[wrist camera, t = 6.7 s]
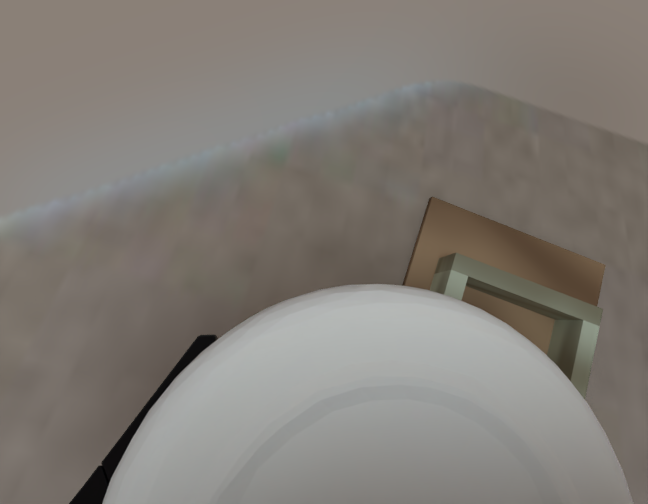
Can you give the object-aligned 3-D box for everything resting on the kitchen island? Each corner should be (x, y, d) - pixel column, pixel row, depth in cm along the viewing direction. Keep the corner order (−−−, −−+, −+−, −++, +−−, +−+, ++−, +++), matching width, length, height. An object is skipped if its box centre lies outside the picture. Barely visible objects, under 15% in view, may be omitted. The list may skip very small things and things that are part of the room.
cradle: (545, 530, 22) (581, 558, 19) (347, 463, 21) (357, 484, 19) (600, 265, 25) (637, 260, 23) (429, 198, 24) (448, 184, 22)
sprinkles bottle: (359, 409, 16) (773, 816, 3) (249, 443, 15) (119, 1227, 2) (331, 299, 17) (565, 222, 3) (224, 327, 16) (0, 365, 3)
